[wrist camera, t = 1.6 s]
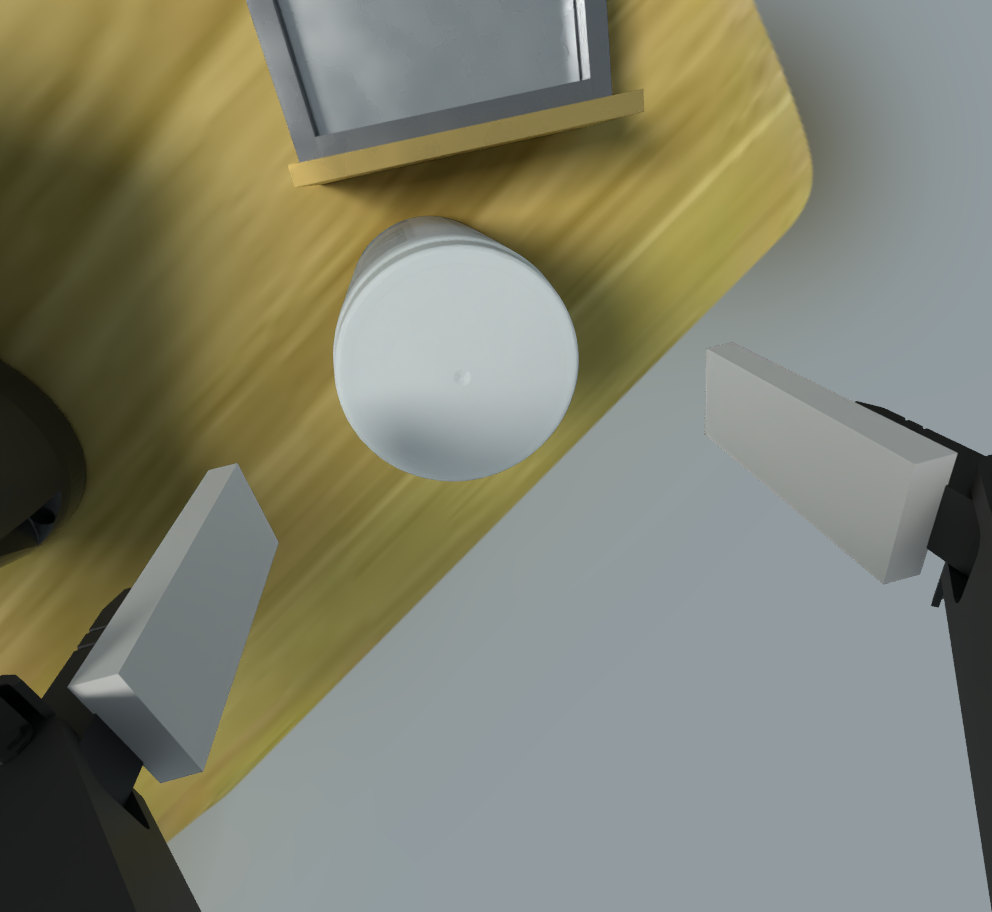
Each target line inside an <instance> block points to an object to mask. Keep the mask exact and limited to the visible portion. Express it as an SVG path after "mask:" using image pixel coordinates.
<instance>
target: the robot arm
mask: <svg viewBox="0 0 992 912" xmlns="http://www.w3.org/2000/svg"><path fill="white" fill-rule="evenodd" d="M705 435H706V436H707V437H708V438H710V439H711V440H712V441H713V442H714V443H716V444H717V445H718V446H719V447H720V448H722V449H723V450H724V451H725V452H726V453H728V454H729V455H730V456H731V457H732V458H733V459H735V460H736V461H737V462H738V463H739V464H741V465H742V466H743V467H744V468H746V469H747V470H748V471H749V472H750V473H751V474H753V475H754V476H755V477H756V478H757V479H758V480H760V481H761V482H762V483H763V484H764V485H766V486H767V487H768V488H769V489H770V490H772V491H773V492H774V493H775V494H776V495H777V496H779V497H780V498H781V499H782V500H784V501H785V502H786V503H787V504H788V505H789V506H791V507H792V508H793V509H794V510H795V511H797V512H798V513H799V514H800V515H801V516H802V517H804V518H805V519H806V520H807V521H808V522H810V523H811V524H812V525H813V526H814V527H816V528H817V529H818V530H819V531H820V532H822V533H823V534H824V535H825V536H826V537H827V538H829V539H830V540H831V541H832V542H833V543H835V544H836V545H837V546H838V547H839V548H841V549H842V550H843V551H844V552H845V553H847V554H848V555H849V556H850V557H851V558H852V559H854V560H855V561H856V562H857V563H858V564H860V565H861V566H862V567H863V568H864V569H866V570H867V571H868V572H869V573H871V574H872V575H873V576H874V577H875V578H876V579H877V580H879V581H880V582H881V583H882V584H887V583H890V582H893V581H897V580H901V579H905V578H908V577H912V576H916V575H919V574H920V573H921V569H922V567H923V563H924V560H925V557H926V554H927V550H930V551H931V552H933V553H934V554H935V555H937V556H938V557H940V558H941V559H943V560H944V561H945V565H944V567H943V570H942V573H941V576H940V579H939V582H938V585H937V588H936V591H935V594H934V597H933V601H932V604H931V606H934V607H939V605H940V602H941V600H942V599H944V601H945V608H946V614H947V621H948V627H949V634H950V640H951V647H952V653H953V659H954V667H955V673H956V680H957V686H958V693H959V699H960V705H961V712H962V718H963V725H964V731H965V738H966V745H967V752H968V758H969V765H970V771H971V778H972V784H973V791H974V798H975V804H976V811H977V817H978V823H979V830H980V837H981V843H982V850H983V856H984V863H985V870H986V876H987V882H988V889H989V896H990V902H991V909H992V455H988V456H984V455H982V454H980V453H978V452H976V451H974V450H972V449H969V448H967V447H965V446H963V445H961V444H959V443H957V442H955V441H952V440H950V439H948V438H946V437H944V436H942V435H940V434H938V433H936V432H934V431H932V430H929V429H923V426H921V425H919V424H917V423H915V422H912V421H910V420H907V421H906V420H905V418H904V417H902V416H900V415H898V414H896V413H894V412H891V411H889V410H887V409H885V408H882V407H878V406H874V405H870V404H866V403H862V402H858V401H856V402H853V401H851V400H849V399H847V398H845V397H843V396H841V395H839V394H837V393H835V392H833V391H831V390H829V389H827V388H825V387H822V386H821V385H818V384H816V383H815V382H812V381H811V380H808V379H806V378H804V377H802V376H800V375H798V374H796V373H794V372H792V371H790V370H788V369H786V368H784V367H782V366H780V365H778V364H776V363H774V362H772V361H770V360H768V359H766V358H764V357H762V356H760V355H758V354H756V353H754V352H752V351H750V350H747V349H745V348H744V347H741V346H739V345H737V344H735V343H733V342H730V343H726V344H722V345H718V346H714V347H710V348H706V395H705ZM85 482H86V467H85V461H84V456H83V452H82V449H81V446H80V444H79V441H78V439H77V437H76V435H75V433H74V431H73V429H72V427H71V426H70V424H69V423H68V421H67V420H66V418H65V417H64V415H63V414H62V413H61V411H60V410H59V409H58V408H57V407H56V405H55V404H54V403H53V402H52V401H51V400H50V399H49V398H48V397H47V396H46V395H45V394H44V393H43V392H42V391H41V390H40V389H39V388H38V387H37V386H35V385H34V384H33V383H32V382H31V381H29V380H28V379H27V378H26V377H24V376H23V375H22V374H20V373H19V372H17V371H16V370H14V369H13V368H11V367H10V366H9V365H7V364H5V363H4V362H2V361H0V568H1V567H3V566H5V565H7V564H9V563H11V562H13V561H15V560H17V559H19V558H22V557H23V556H25V555H27V554H29V553H31V552H32V551H34V550H35V549H37V548H38V547H40V546H41V545H42V544H44V543H45V542H46V541H47V540H48V539H50V538H51V537H52V536H53V535H54V534H55V533H56V532H57V530H58V529H59V528H60V527H61V526H62V525H63V524H64V523H65V522H66V521H67V520H68V519H69V518H70V517H71V515H72V514H73V513H74V511H75V510H76V509H77V507H78V505H79V503H80V501H81V498H82V496H83V492H84V489H85ZM278 543H279V542H278V540H277V538H276V536H275V534H274V532H273V531H272V529H271V527H270V525H269V523H268V521H267V519H266V517H265V515H264V513H263V511H262V509H261V508H260V506H259V504H258V502H257V500H256V498H255V496H254V494H253V492H252V490H251V488H250V486H249V484H248V483H247V481H246V479H245V477H244V475H243V473H242V471H241V469H240V467H239V465H238V463H236V464H232V465H228V466H224V467H219V468H215V469H211V470H208V472H207V473H206V475H205V476H204V478H203V479H202V481H201V483H200V484H199V486H198V487H197V489H196V490H195V492H194V493H193V495H192V496H191V498H190V499H189V501H188V502H187V504H186V506H185V507H184V509H183V510H182V512H181V513H180V515H179V516H178V518H177V519H176V521H175V522H174V524H173V526H172V527H171V529H170V530H169V532H168V533H167V535H166V536H165V538H164V539H163V541H162V542H161V544H160V545H159V547H158V549H157V550H156V552H155V553H154V555H153V556H152V558H151V559H150V561H149V562H148V564H147V565H146V567H145V568H144V570H143V572H142V573H141V575H140V576H139V578H138V579H137V581H136V582H135V584H134V585H133V587H132V588H128V589H125V590H123V591H122V592H121V593H120V594H119V595H118V596H117V597H116V598H115V599H114V600H113V601H112V602H110V603H109V604H108V605H107V606H106V607H105V608H104V609H103V610H102V612H101V613H100V615H99V616H98V617H97V619H96V620H95V622H94V623H93V625H92V626H91V628H90V629H89V631H90V633H88V634H86V635H85V636H84V638H83V639H82V641H81V642H80V644H79V645H78V651H74V652H73V654H72V655H71V657H70V658H69V660H68V661H67V663H66V664H65V666H64V667H63V668H62V670H61V671H60V673H59V674H58V676H57V677H56V679H55V680H54V682H53V683H52V685H51V686H50V687H49V689H48V690H47V692H46V693H45V695H44V696H43V698H42V699H41V698H40V697H39V696H38V695H37V694H36V693H35V692H34V691H33V690H32V689H31V688H30V687H29V686H28V685H27V684H26V683H25V682H24V681H22V680H21V679H20V678H19V677H18V676H16V675H1V676H0V912H201V910H200V908H199V906H198V904H197V903H196V900H195V899H194V896H193V895H192V893H191V891H190V889H189V887H188V885H187V883H186V881H185V879H184V877H183V875H182V873H181V871H180V869H179V867H178V865H177V863H176V861H175V859H174V857H173V855H172V853H171V851H170V850H169V847H168V845H167V844H166V842H165V840H164V838H163V836H162V834H161V832H160V830H159V828H158V826H157V824H156V822H155V820H154V818H153V816H152V814H151V812H150V810H149V808H148V806H147V804H146V802H145V800H144V798H143V797H142V796H141V795H140V794H139V793H138V792H137V791H136V790H135V789H134V788H133V786H134V784H135V782H136V779H137V777H138V775H139V773H140V770H141V768H142V766H144V767H145V768H146V769H147V770H148V771H149V772H150V773H151V774H152V775H153V776H154V777H155V778H156V779H157V780H158V781H159V782H160V783H163V782H167V781H170V780H174V779H178V778H181V777H185V776H188V775H192V774H196V773H199V772H203V770H204V767H205V764H206V761H207V758H208V755H209V752H210V749H211V746H212V743H213V740H214V737H215V734H216V731H217V728H218V725H219V722H220V719H221V716H222V713H223V710H224V707H225V704H226V701H227V698H228V695H229V692H230V689H231V686H232V683H233V679H234V676H235V673H236V670H237V667H238V664H239V661H240V658H241V655H242V652H243V649H244V646H245V643H246V640H247V637H248V634H249V631H250V628H251V625H252V622H253V619H254V616H255V613H256V610H257V607H258V604H259V601H260V598H261V595H262V592H263V589H264V586H265V583H266V579H267V576H268V573H269V570H270V567H271V564H272V561H273V558H274V555H275V552H276V549H277V546H278Z"/></svg>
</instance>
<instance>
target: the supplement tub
mask: <svg viewBox="0 0 992 912" xmlns="http://www.w3.org/2000/svg"><path fill="white" fill-rule="evenodd" d="M333 361H334V374H335V383H336V388H337V393H338V397H339V400H340V403H341V406H342V408H343V411H344V413H345V415H346V418H347V420H348V421H349V423H350V425H351V426H352V428H353V429H354V431H355V432H356V433H357V435H358V436H359V437H360V439H361V440H362V441H363V442H364V443H365V444H366V445H367V446H368V447H369V448H370V449H371V450H372V451H373V452H374V453H375V454H377V455H378V456H379V457H380V458H382V459H383V460H385V461H386V462H388V463H389V464H391V465H393V466H395V467H396V468H398V469H400V470H402V471H405V472H407V473H410V474H413V475H416V476H419V477H423V478H427V479H433V480H439V481H467V480H474V479H479V478H484V477H487V476H491V475H494V474H497V473H500V472H502V471H504V470H506V469H508V468H510V467H512V466H514V465H516V464H518V463H519V462H521V461H523V460H524V459H526V458H527V457H528V456H530V455H531V454H532V453H533V452H535V451H536V450H537V449H538V448H539V447H540V446H541V445H542V444H543V443H544V442H546V441H547V439H548V438H549V437H550V436H551V435H552V433H553V432H554V431H555V429H556V428H557V427H558V425H559V424H560V422H561V420H562V419H563V417H564V415H565V413H566V411H567V409H568V407H569V405H570V402H571V399H572V396H573V393H574V390H575V386H576V382H577V375H578V366H579V353H578V344H577V338H576V333H575V329H574V326H573V323H572V320H571V317H570V315H569V312H568V311H567V309H566V307H565V305H564V303H563V301H562V300H561V298H560V296H559V295H558V294H557V292H556V291H555V289H554V288H553V287H552V285H551V284H550V283H549V281H548V280H547V279H546V278H545V277H544V275H543V274H542V273H541V272H540V271H539V270H538V269H537V268H536V267H535V266H534V265H533V264H531V263H530V262H529V261H528V260H526V259H525V258H524V257H522V256H521V255H519V254H518V253H516V252H514V251H512V250H511V249H509V248H507V247H506V246H504V245H502V244H500V243H498V242H497V241H495V240H493V239H491V238H489V237H487V236H486V235H484V234H482V233H480V232H478V231H476V230H474V229H472V228H471V227H469V226H467V225H465V224H463V223H460V222H458V221H455V220H452V219H449V218H444V217H438V216H420V217H414V218H410V219H406V220H404V221H401V222H398V223H396V224H394V225H392V226H391V227H389V228H387V229H386V230H384V231H383V232H382V233H380V234H379V235H378V236H377V237H376V238H375V239H373V240H372V242H371V243H370V244H369V245H368V246H367V248H366V249H365V251H364V252H363V254H362V256H361V257H360V259H359V261H358V263H357V265H356V268H355V271H354V274H353V276H352V279H351V282H350V285H349V288H348V291H347V294H346V297H345V300H344V303H343V305H342V308H341V312H340V315H339V319H338V322H337V327H336V331H335V338H334V347H333Z"/></svg>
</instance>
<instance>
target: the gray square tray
mask: <svg viewBox="0 0 992 912" xmlns="http://www.w3.org/2000/svg"><path fill="white" fill-rule="evenodd" d="M246 2H247V5H248V8H249V11H250V14H251V17H252V20H253V23H254V26H255V29H256V32H257V35H258V38H259V41H260V44H261V47H262V50H263V53H264V56H265V59H266V62H267V65H268V68H269V71H270V74H271V77H272V80H273V83H274V86H275V89H276V92H277V95H278V98H279V101H280V104H281V107H282V110H283V113H284V116H285V119H286V122H287V125H288V128H289V131H290V134H291V137H292V140H293V143H294V146H295V149H296V152H297V155H298V158H299V161H300V163H296V164H291V165H288V168H289V171H290V174H291V177H292V180H293V183H294V186H295V187H303V186H313V185H321V184H326V183H330V182H335V181H339V180H344V179H349V178H353V177H358V176H362V175H367V174H371V173H376V172H381V171H385V170H390V169H394V168H399V167H404V166H408V165H413V164H417V163H422V162H427V161H431V160H436V159H440V158H445V157H450V156H454V155H459V154H463V153H468V152H472V151H477V150H482V149H486V148H491V147H495V146H500V145H505V144H509V143H514V142H518V141H523V140H528V139H532V138H537V137H541V136H546V135H550V134H555V133H560V132H564V131H569V130H573V129H578V128H583V127H587V126H590V125H594V124H598V123H602V122H606V121H610V120H613V119H617V118H621V117H625V116H629V115H632V114H636V113H640V112H644V96H643V89H640V90H635V91H631V92H626V93H621V94H617V95H612V85H611V68H610V51H609V34H608V18H607V1H606V0H246Z"/></svg>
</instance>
